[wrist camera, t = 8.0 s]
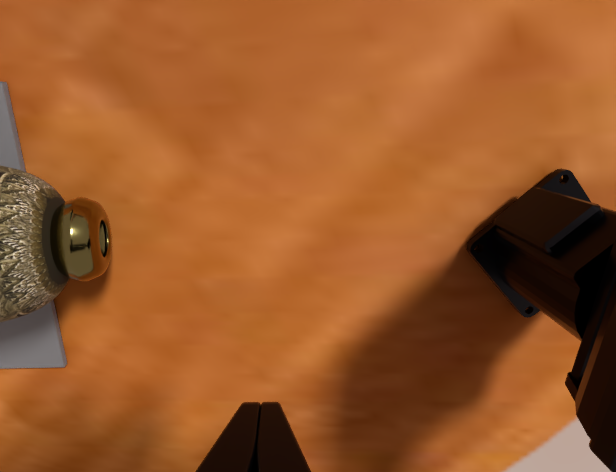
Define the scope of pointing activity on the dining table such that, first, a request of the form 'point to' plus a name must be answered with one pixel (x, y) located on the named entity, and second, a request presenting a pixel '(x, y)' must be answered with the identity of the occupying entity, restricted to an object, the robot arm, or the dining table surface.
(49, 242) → the cup
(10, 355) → the felt pad
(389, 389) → the dining table surface
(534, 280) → the robot arm
